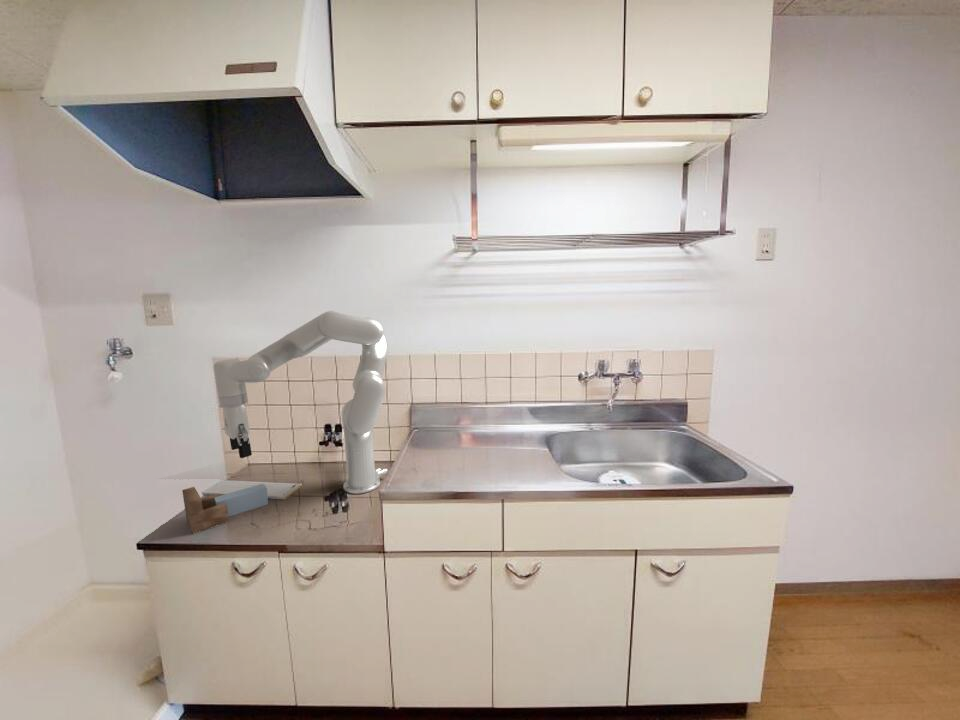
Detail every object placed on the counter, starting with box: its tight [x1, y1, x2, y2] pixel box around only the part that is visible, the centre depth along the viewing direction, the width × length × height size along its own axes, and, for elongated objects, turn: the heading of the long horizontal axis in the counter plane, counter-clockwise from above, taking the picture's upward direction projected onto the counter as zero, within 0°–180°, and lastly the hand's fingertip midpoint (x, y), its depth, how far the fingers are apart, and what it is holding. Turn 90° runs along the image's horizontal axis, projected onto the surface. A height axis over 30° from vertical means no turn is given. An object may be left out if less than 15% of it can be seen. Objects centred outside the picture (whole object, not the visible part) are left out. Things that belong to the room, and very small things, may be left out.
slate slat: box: [214, 483, 269, 518], centre depth 130 cm, size 4×14×6 cm, turn 131°
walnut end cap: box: [182, 486, 230, 534], centre depth 123 cm, size 9×10×10 cm
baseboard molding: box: [201, 479, 303, 500], centre depth 144 cm, size 31×3×12 cm
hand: (241, 452), depth 127 cm, fingers open, 9 cm apart
